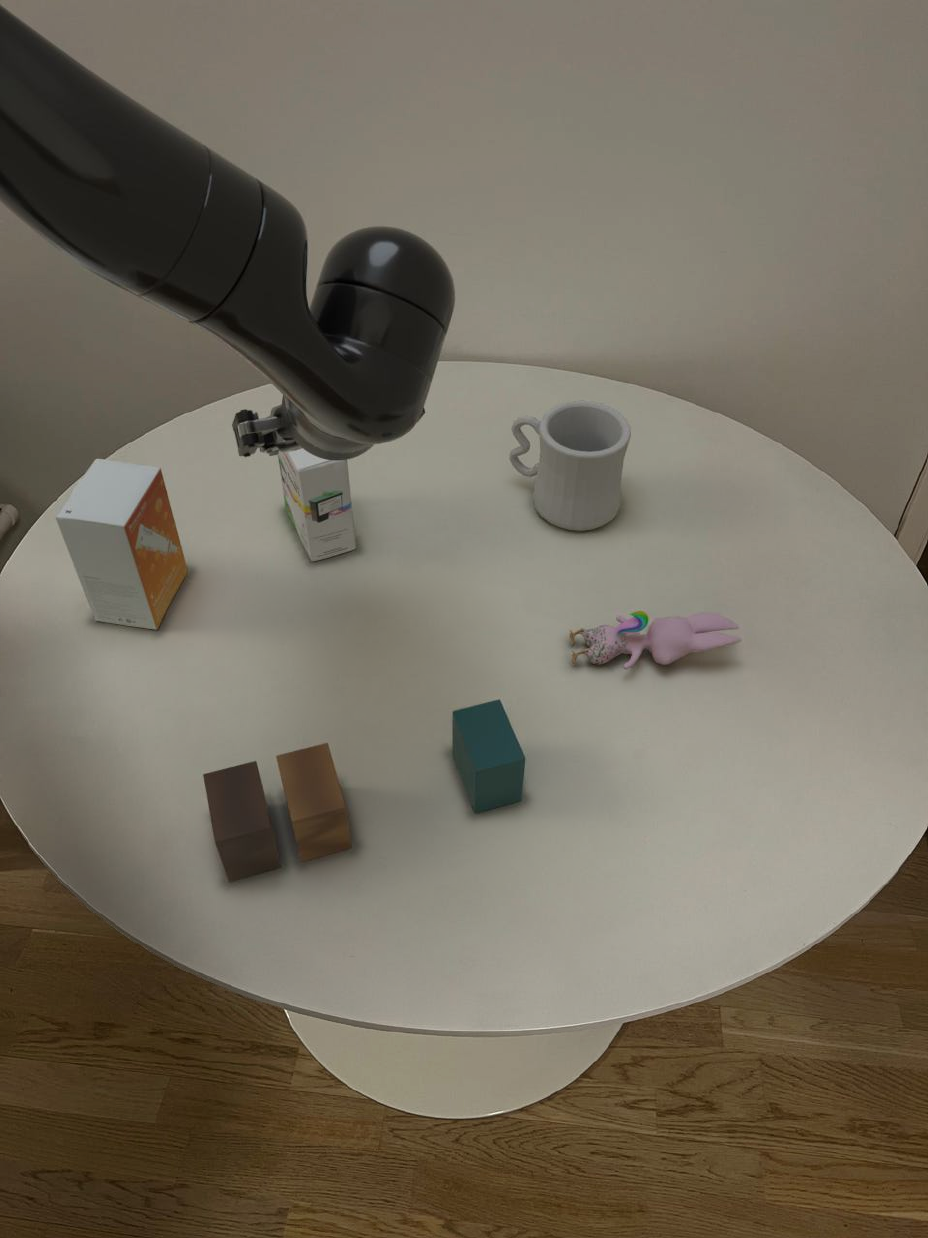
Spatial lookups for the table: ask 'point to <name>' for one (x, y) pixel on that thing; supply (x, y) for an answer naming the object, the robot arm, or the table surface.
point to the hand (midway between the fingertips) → (321, 433)
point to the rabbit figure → (656, 637)
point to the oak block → (314, 801)
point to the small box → (124, 542)
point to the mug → (576, 463)
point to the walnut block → (241, 821)
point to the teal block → (487, 755)
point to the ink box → (318, 502)
